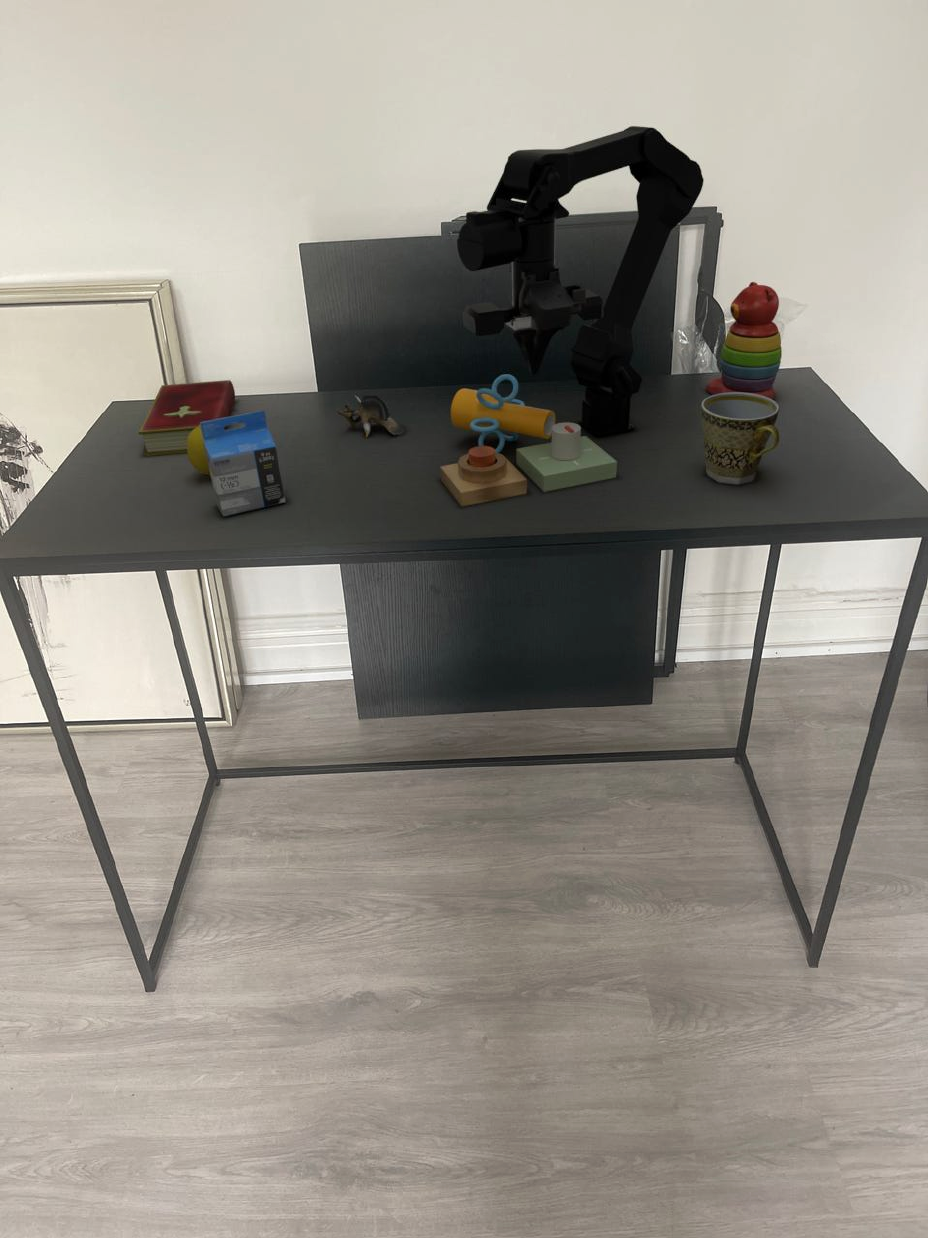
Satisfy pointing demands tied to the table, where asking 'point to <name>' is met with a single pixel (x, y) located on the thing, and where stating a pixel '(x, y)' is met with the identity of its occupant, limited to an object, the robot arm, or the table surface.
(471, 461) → the top button
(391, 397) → the table surface
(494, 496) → the button block
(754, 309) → the stacking bear
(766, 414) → the ceramic cup
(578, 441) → the dial
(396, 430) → the animal figurine
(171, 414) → the hardcover book
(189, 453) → the lemon
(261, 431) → the label tape box
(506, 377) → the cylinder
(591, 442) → the dial panel
